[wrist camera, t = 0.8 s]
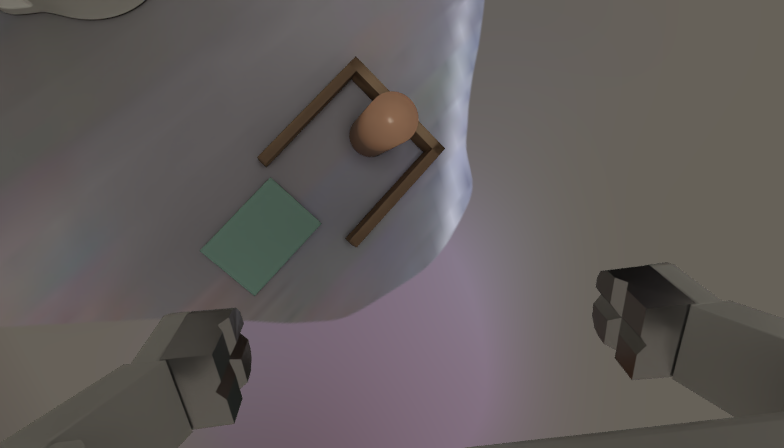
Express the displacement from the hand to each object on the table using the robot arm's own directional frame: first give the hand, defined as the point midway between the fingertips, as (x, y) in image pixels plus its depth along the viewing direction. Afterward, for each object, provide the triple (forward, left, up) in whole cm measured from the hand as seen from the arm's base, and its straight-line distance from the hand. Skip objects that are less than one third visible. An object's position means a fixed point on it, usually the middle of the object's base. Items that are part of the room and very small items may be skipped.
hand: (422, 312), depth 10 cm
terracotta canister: (-2, +12, -37) cm, 39 cm away
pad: (-3, -4, -37) cm, 38 cm away
